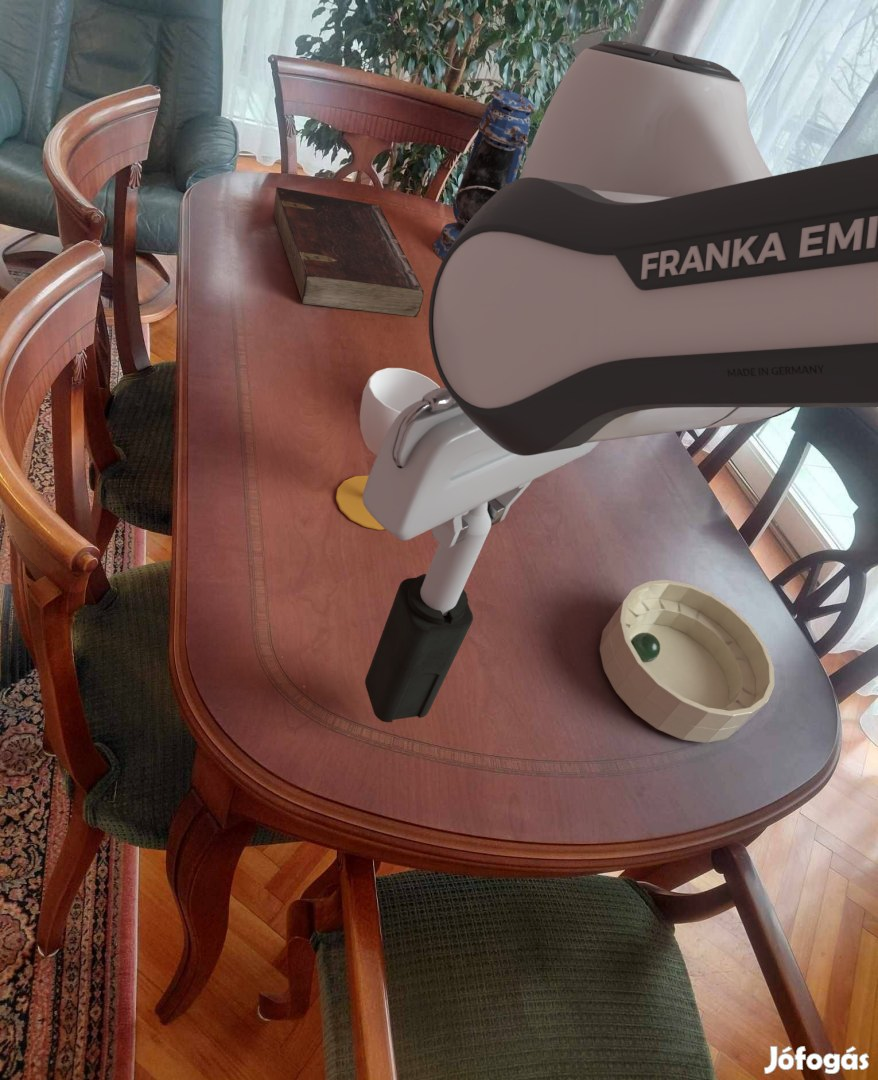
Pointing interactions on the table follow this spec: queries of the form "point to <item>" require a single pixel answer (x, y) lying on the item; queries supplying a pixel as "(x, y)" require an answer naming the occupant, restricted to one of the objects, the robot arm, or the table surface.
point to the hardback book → (345, 254)
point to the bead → (646, 646)
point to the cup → (380, 428)
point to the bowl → (687, 662)
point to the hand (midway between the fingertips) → (467, 528)
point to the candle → (425, 628)
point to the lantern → (490, 159)
